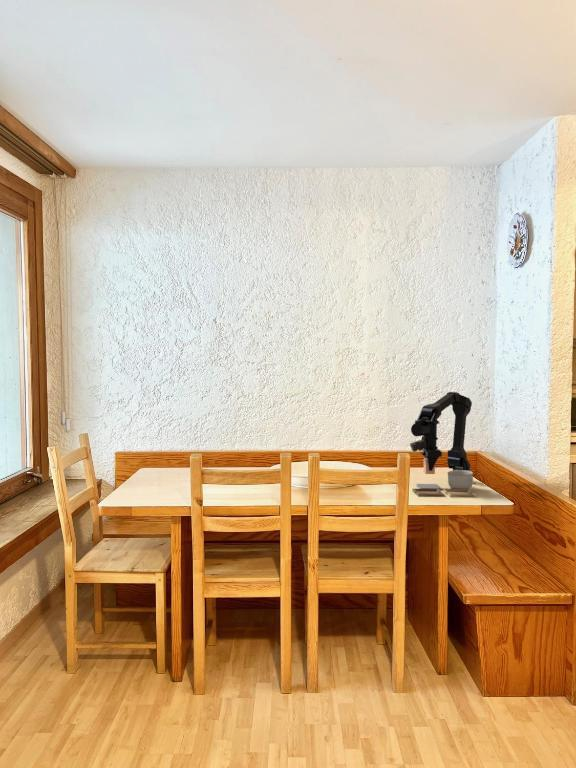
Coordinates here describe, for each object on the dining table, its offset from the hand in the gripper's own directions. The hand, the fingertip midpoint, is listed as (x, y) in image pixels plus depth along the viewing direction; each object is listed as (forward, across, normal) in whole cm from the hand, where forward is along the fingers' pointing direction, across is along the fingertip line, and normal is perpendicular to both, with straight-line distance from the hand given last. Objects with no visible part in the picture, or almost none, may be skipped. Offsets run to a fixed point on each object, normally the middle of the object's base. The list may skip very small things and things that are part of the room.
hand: (429, 469), depth 290 cm
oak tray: (+9, +12, +10) cm, 18 cm away
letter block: (+2, 0, 0) cm, 2 cm away
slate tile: (+9, 0, 0) cm, 9 cm away
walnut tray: (+9, +11, -3) cm, 14 cm away
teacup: (+9, -1, +14) cm, 17 cm away
